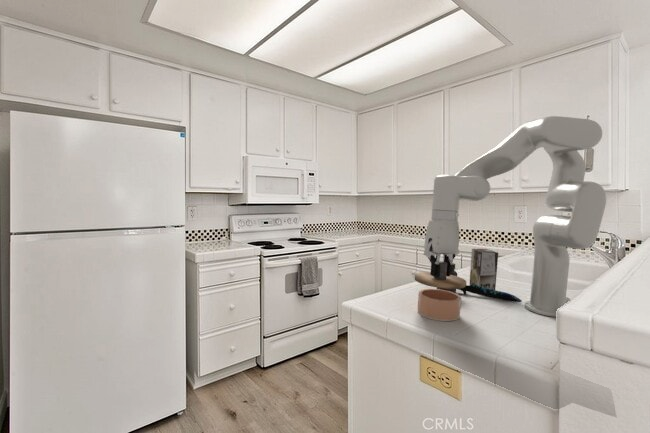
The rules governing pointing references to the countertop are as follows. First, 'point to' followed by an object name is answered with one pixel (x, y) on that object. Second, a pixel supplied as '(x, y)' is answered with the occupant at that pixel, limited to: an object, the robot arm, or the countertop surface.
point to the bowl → (439, 304)
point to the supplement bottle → (451, 274)
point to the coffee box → (483, 268)
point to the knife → (490, 293)
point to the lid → (441, 279)
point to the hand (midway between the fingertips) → (440, 275)
